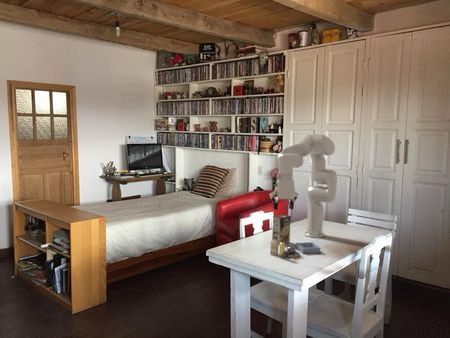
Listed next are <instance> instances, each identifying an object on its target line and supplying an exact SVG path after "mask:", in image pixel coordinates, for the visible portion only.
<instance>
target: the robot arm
mask: <svg viewBox="0 0 450 338" xmlns="http://www.w3.org/2000/svg"><path fill="white" fill-rule="evenodd" d="M335 148H336V146H335V143H334V142H333V141H332V140H331V138H330V137H329V136H327V135H324V134H317V133H315V134H314V133H313V134H312V133H311V134H307V135H305V136H304V137H303V138H302V139H301V140H300V141H299V142H298V143H296V144H293V145H290V146H288V147H284V149H282V150H281V151H280V152H279V153H278V155H277V158H276V163H277V165H278V172H277V175H275V176H276V181H275V186H274V191H272V192H270V193H269V197H270V199H271V202H273V203H272V204H273V205H272V207H273V208H272V209H273V210H275V211H278V210H279V209H278V208H279V203H278V201H279V200H289V203H288V205H289V206H288V209H290V210H294V206H295V202H296V200H298V197H299V193H298V192H296V191H295V182H294V181H295V180H293V172H294V170H293V169H299V168H301V167H302V166H303V165H304V157H307V156H310V158H311V168H310V169H311V171H310V181H311V183H313V184H317V185H311V186H308V188H307V192H306V195H307V226H306V231H304V235H305V236H306V237H309V238H314V239H315V238H316V239H317V238H324V237H325V236H326V235H325V232H323V230H324V228H323V225H324V205H323V204H322V203H329V204H332V203H334V202H335V200H336V196H337V185H338V174H337V171H335V169H334V170H333V169H327V167H326V166H327V161H326V158H325V157H324V156H332V155H333V154H334V153H335V150H336V149H335ZM321 185H322V186H321ZM323 185H326V186H323Z"/></svg>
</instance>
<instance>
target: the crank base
mask: <svg viewBox="0 0 450 338" xmlns="http://www.w3.org/2000/svg"><path fill="white" fill-rule="evenodd" d="M300 253H301V252H300V251H295V254H287V255H285V256H284V257H285V258H290V259H293V260H294V261H299V258H300V257H301V256H300V255H301V254H300Z"/></svg>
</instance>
